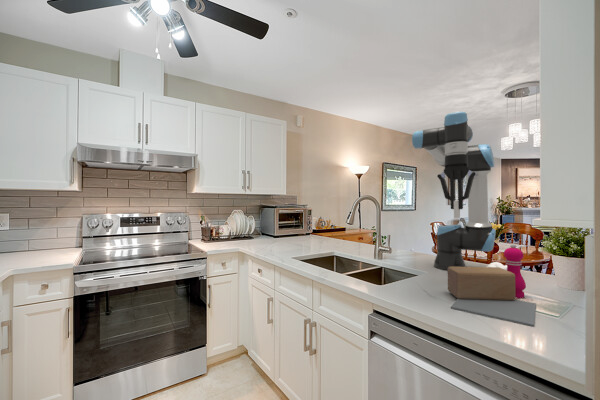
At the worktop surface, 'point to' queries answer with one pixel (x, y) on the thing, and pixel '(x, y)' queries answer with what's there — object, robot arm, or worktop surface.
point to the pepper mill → (515, 268)
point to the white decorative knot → (497, 265)
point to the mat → (499, 309)
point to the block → (481, 283)
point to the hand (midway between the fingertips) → (456, 218)
